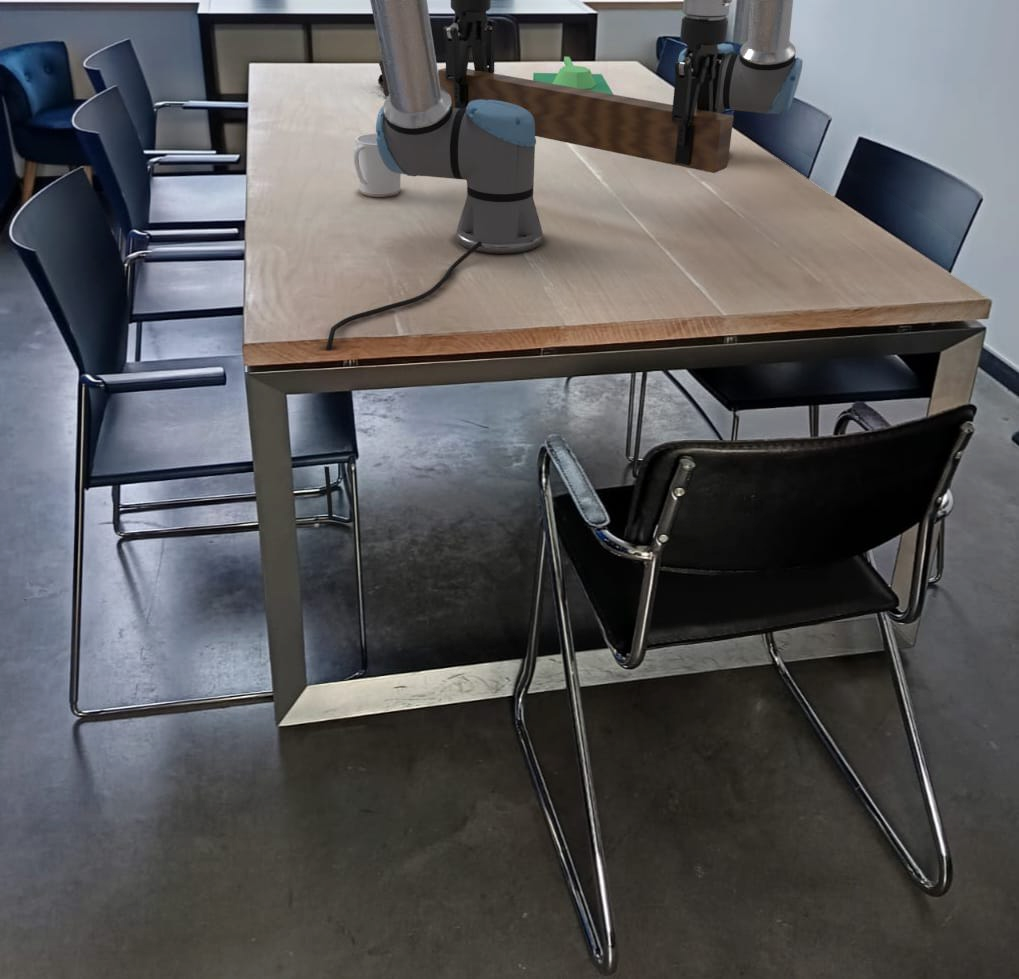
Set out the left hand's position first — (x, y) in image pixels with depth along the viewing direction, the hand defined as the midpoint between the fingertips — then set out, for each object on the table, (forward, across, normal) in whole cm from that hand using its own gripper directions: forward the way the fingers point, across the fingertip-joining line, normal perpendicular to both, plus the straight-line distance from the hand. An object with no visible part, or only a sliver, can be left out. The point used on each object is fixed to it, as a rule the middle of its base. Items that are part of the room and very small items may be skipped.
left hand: (470, 115), depth 216 cm
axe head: (+14, +60, +71) cm, 94 cm away
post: (+1, 0, -25) cm, 25 cm away
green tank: (+14, +65, +20) cm, 70 cm away
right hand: (0, 0, -49) cm, 49 cm away
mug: (+14, -15, +12) cm, 24 cm away
